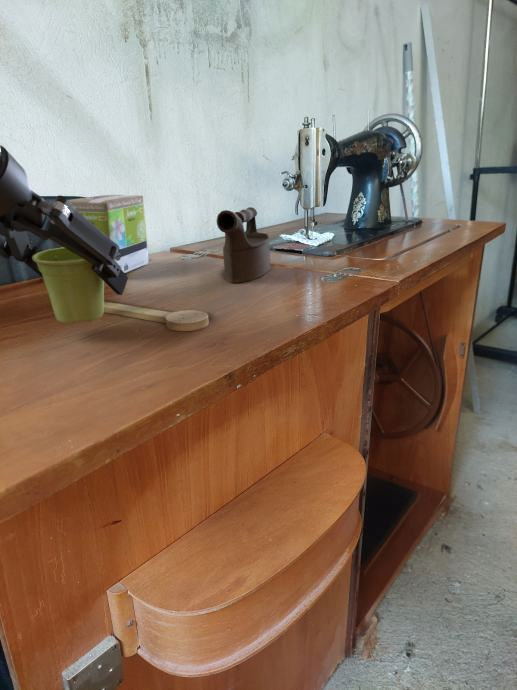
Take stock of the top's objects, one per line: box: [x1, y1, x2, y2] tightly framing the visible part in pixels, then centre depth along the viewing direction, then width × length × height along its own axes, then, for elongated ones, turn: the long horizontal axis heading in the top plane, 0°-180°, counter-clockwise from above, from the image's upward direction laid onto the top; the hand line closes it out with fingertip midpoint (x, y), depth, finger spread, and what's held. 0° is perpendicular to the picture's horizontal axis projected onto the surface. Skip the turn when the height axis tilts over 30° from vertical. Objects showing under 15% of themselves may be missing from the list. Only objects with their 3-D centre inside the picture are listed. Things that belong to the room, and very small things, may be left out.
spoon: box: [104, 300, 210, 332], centre depth 77 cm, size 22×6×1 cm, turn 61°
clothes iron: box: [216, 206, 271, 284], centre depth 97 cm, size 8×16×13 cm, turn 164°
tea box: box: [68, 194, 149, 274], centre depth 104 cm, size 15×10×15 cm
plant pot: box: [32, 247, 105, 325], centre depth 68 cm, size 9×9×9 cm
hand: (91, 283), depth 71 cm, fingers closed on plant pot, 9 cm apart
